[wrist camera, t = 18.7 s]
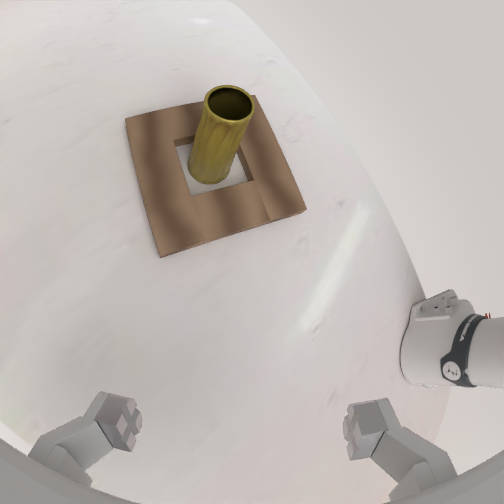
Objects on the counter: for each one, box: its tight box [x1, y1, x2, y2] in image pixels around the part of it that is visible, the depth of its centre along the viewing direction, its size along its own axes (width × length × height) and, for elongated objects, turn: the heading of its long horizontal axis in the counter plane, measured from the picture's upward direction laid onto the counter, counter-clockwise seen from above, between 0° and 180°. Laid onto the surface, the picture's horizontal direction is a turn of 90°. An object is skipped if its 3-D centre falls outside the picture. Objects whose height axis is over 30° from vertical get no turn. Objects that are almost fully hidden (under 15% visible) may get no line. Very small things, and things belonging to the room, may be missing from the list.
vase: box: [188, 85, 255, 184], centre depth 32 cm, size 6×6×14 cm
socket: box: [125, 95, 307, 258], centre depth 37 cm, size 21×21×2 cm
